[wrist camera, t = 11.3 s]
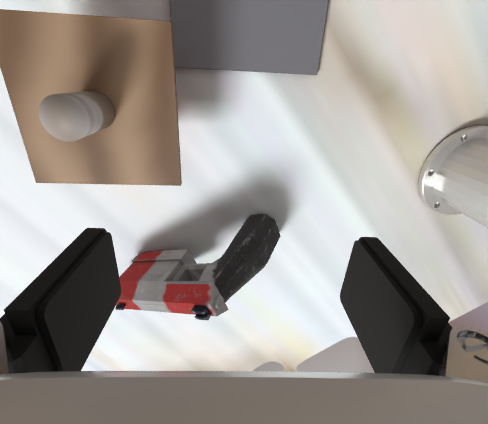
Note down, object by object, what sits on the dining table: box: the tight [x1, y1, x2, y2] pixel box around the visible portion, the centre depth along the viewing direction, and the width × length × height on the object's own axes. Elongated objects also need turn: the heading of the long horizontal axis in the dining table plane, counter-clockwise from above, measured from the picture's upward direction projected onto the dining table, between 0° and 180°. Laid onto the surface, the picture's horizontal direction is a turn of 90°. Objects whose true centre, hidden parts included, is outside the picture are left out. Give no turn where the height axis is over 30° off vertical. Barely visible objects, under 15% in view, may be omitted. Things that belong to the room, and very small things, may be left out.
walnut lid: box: [0, 9, 182, 186], centre depth 22 cm, size 14×14×6 cm
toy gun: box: [116, 214, 280, 320], centre depth 37 cm, size 5×22×15 cm, turn 110°
